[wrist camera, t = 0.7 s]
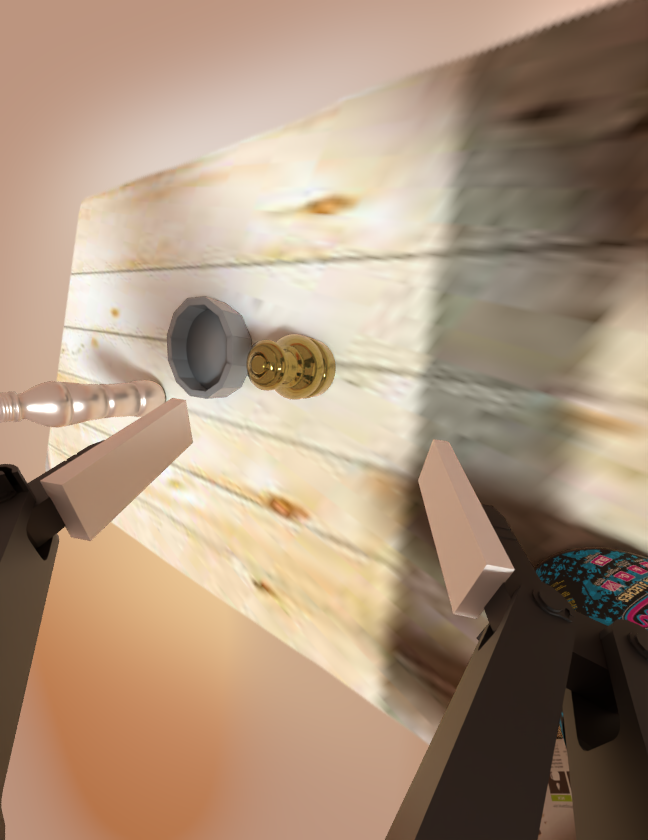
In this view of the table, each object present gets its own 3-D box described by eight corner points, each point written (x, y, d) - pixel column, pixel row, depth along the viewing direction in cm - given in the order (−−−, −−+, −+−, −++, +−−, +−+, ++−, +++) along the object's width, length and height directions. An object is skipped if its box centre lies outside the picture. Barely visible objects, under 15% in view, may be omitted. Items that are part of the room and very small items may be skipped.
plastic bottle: (174, 391, 47) (5, 398, 30) (165, 421, 50) (4, 444, 32) (154, 373, 50) (-15, 370, 32) (146, 403, 52) (-14, 415, 34)
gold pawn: (289, 336, 35) (230, 322, 26) (341, 341, 31) (293, 326, 23) (284, 392, 36) (227, 396, 27) (332, 402, 33) (285, 410, 24)
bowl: (228, 284, 38) (208, 275, 35) (264, 371, 37) (246, 371, 34) (177, 334, 45) (156, 330, 42) (206, 409, 44) (187, 411, 41)
